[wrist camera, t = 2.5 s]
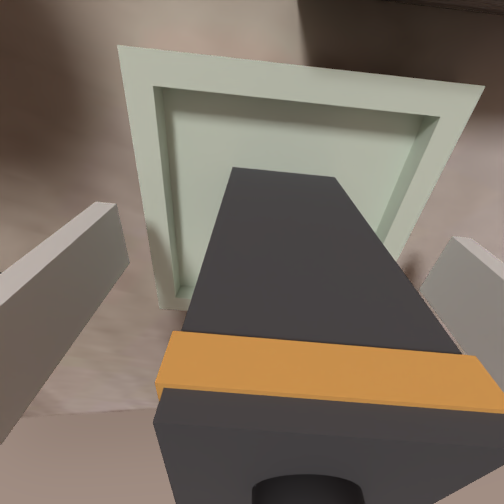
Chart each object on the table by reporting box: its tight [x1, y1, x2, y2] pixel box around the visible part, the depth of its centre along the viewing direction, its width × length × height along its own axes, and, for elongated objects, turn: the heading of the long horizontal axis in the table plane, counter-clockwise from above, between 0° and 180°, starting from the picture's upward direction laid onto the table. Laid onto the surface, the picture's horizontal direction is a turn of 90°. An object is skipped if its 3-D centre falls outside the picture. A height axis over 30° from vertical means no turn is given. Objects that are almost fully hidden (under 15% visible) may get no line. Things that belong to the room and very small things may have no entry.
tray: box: [117, 45, 485, 311], centre depth 12 cm, size 12×12×2 cm
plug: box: [153, 167, 504, 504], centre depth 8 cm, size 5×5×12 cm
